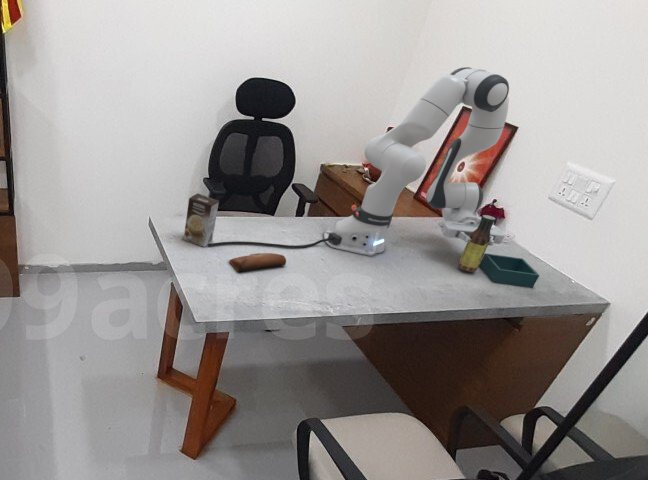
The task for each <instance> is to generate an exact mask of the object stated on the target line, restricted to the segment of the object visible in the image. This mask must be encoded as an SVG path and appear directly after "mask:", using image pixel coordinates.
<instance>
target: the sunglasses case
mask: <svg viewBox="0 0 648 480" xmlns="http://www.w3.org/2000/svg"><path fill="white" fill-rule="evenodd" d="M229 264H230V265H231V266H232V267H233V268H234V270H235V271H236V272H237V273H240V272H245V271H249V270H255V269H260V268H261V269H262V268H269V267H277V266H278V267H279V266H286V265H287V258H286V256H285V255H283V254H278V253H273V252H262V253H261V252H258V253H250V254H249V255H244V256H238V257H234V258H231V259H229Z"/></svg>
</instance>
